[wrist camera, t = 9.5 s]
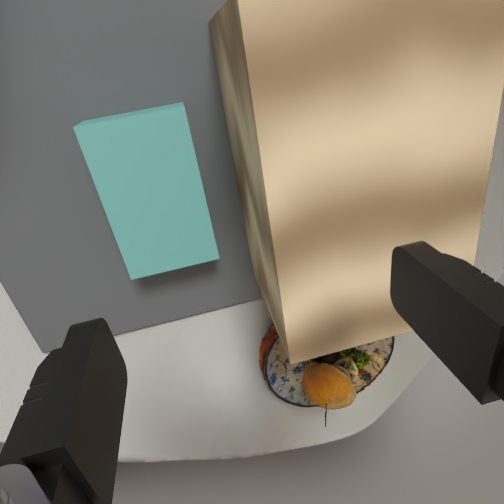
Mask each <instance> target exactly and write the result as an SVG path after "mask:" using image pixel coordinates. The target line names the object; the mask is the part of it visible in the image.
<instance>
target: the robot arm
mask: <svg viewBox="0 0 504 504" xmlns="http://www.w3.org/2000/svg"><path fill="white" fill-rule="evenodd" d="M390 297H391V301H392V304H393V306H394V308H395V310H396V311H397V313H398V314H399V315H400V316H401V317H402V318H403V319H404V321H405V322H406V323H407V324H408V325H409V326H410V327H411V328H412V329H413V330H414V331H415V333H416V334H417V335H418V336H419V337H420V338H421V339H422V340H423V341H424V342H425V343H426V345H427V346H428V347H429V348H430V349H431V350H432V351H433V352H434V353H435V354H436V355H437V357H438V358H439V359H440V360H441V361H442V362H443V363H444V364H445V365H446V366H447V367H448V368H449V370H450V371H451V372H452V373H453V374H454V375H455V376H456V377H457V378H458V379H459V380H460V382H461V383H462V384H463V385H464V386H465V387H466V388H467V389H468V390H469V391H470V393H471V394H472V395H473V396H474V397H475V398H476V399H477V400H478V401H479V402H480V404H482V405H483V404H486V403H490V402H493V401H496V400H500V399H502V400H503V401H504V286H503V285H501V284H500V283H498V282H494V279H492V278H491V277H489V276H488V275H486V274H485V273H481V271H480V270H479V269H477V268H476V267H474V266H473V265H471V264H470V263H468V262H467V261H465V260H463V259H460V258H457V257H454V256H451V255H449V254H446V253H443V254H442V253H441V252H439V251H438V250H437V249H435V248H434V247H432V246H431V245H429V244H428V243H426V242H425V241H418V242H414V243H410V244H405V245H401V246H397V247H395V248H394V249H393V251H392V260H391V280H390ZM126 389H127V370H126V365H125V362H124V359H123V357H122V355H121V352H120V350H119V348H118V346H117V344H116V341H115V339H114V337H113V335H112V332H111V330H110V328H109V326H108V324H107V322H106V320H105V319H104V318H97V319H93V320H89V321H85V322H81V323H77V324H73V325H71V326H70V327H69V329H68V332H67V335H66V338H65V340H64V343H63V346H62V348H58V349H54V350H52V351H51V352H50V354H49V355H48V356H47V357H46V358H45V359H44V361H43V362H42V363H41V364H40V365H39V366H38V367H37V370H36V372H35V374H34V377H33V379H32V381H31V384H30V389H28V391H27V393H26V395H25V398H24V400H23V405H21V407H20V409H19V412H18V414H17V416H16V419H15V421H14V423H13V426H12V428H11V430H10V433H9V435H8V437H7V440H6V442H5V444H4V447H3V449H2V451H1V454H0V504H112V498H113V490H114V483H115V475H116V467H117V459H118V452H119V444H120V436H121V428H122V421H123V413H124V405H125V397H126Z"/></svg>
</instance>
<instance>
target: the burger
mask: <svg viewBox="0 0 504 504" xmlns="http://www.w3.org/2000/svg"><path fill="white" fill-rule="evenodd" d="M393 348H394V336H392V337H389V338H385V339H382V340H378V341H374V342H371V343H367V344H364V345H360V346H356V347H353V348H349V349H345V350H342V351H338V352H335V353H331V354H327V355H324V356H320V357H316V358H313V359H309V360H306V361H302V362H298V363H295V364H290V362H289V360H288V357H287V355H286V352H285V350H284V347H283V345H282V342H281V340H280V338H279V335H278V333H277V330H276V328H275V325H274V326H273V327H271V328H270V333H269V334H268V335H267V338H266V339H265V338H263V339H262V344H261V346H260V360H259V361H260V367H261V370H262V372H263V375H264V380H266V381H267V384H268V386H269V388H270V390H271V391H272V392H273V393H274V394H275V395H276V396H277V397H278V398H280V399H282V400H283V401H285V402H287V403H290V404H293V405H296V406H300V407H315V406H318V407H319V406H320V407H323V408H326V412H327V409H339V408H343V407H346V406H349V405H350V404H351V403H352V402H353V401H354V399H355V398H356V394H357V393H359V392H360V391H362V390H364V388H365V387H366V386H369V385H370V384H371V382H373V381H374V380H375V379H376V377H377V376H378V375H379V374H380V373H381V372H382V371H383V369H384V367H385V366H386V365H387V363H388V362H389V360H390V357H391V355H392V352H393ZM326 412H325V418H326ZM325 427H326V419H325Z"/></svg>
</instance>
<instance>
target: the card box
mask: <svg viewBox="0 0 504 504" xmlns="http://www.w3.org/2000/svg"><path fill="white" fill-rule="evenodd" d="M73 129H74V131H75V134H76V137H77V139H78V142H79V144H80V147H81V150H82V152H83V155H84V158H85V160H86V163H87V165H88V168H89V171H90V173H91V176H92V179H93V181H94V184H95V186H96V189H97V192H98V194H99V197H100V200H101V202H102V205H103V207H104V210H105V213H106V215H107V218H108V220H109V223H110V226H111V228H112V231H113V234H114V236H115V239H116V241H117V244H118V247H119V249H120V252H121V255H122V257H123V260H124V262H125V265H126V268H127V270H128V273H129V276H130V278H131V280H133V279H137V278H141V277H145V276H150V275H154V274H158V273H162V272H166V271H171V270H175V269H179V268H183V267H187V266H192V265H196V264H200V263H204V262H208V261H213V260H217V259H220V258H219V254H218V250H217V245H216V241H215V237H214V232H213V228H212V224H211V219H210V215H209V211H208V206H207V202H206V198H205V193H204V189H203V185H202V180H201V176H200V172H199V167H198V163H197V159H196V154H195V150H194V146H193V141H192V137H191V133H190V128H189V124H188V120H187V115H186V111H185V107H184V104H183V102H180V103H175V104H169V105H164V106H159V107H153V108H148V109H143V110H138V111H132V112H127V113H122V114H117V115H111V116H106V117H101V118H95V119H90V120H85V121H82V122H80V123H79V124H77V125H76V126H74V127H73Z"/></svg>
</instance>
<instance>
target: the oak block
mask: <svg viewBox="0 0 504 504" xmlns="http://www.w3.org/2000/svg"><path fill="white" fill-rule="evenodd" d="M208 24H209V29H210V35H211V40H212V46H213V51H214V57H215V62H216V68H217V73H218V79H219V84H220V90H221V95H222V101H223V106H224V112H225V117H226V123H227V128H228V134H229V139H230V145H231V150H232V156H233V161H234V166H235V172H236V177H237V183H238V188H239V194H240V199H241V205H242V210H243V216H244V221H245V227H246V232H247V238H248V243H249V249H250V254H251V260H252V265H253V271H254V276H255V279H256V281H257V284H258V286H259V289H260V291H261V294H262V296H263V298H264V301H265V303H266V306H267V308H268V311H269V313H270V316H271V318H272V320H273V323H274V325H275V328H276V330H277V333H278V335H279V338H280V340H281V342H282V345H283V347H284V350H285V352H286V355H287V357H288V360H289V362H290V364H295V363H298V362H302V361H306V360H309V359H313V358H316V357H320V356H324V355H327V354H331V353H335V352H338V351H342V350H345V349H349V348H353V347H356V346H360V345H364V344H367V343H371V342H374V341H378V340H382V339H385V338H389V337H392V336H396V335H400V334H403V333H407V332H411V331H414V330H413V329H412V328H411V327H410V326H409V325H408V324H407V323H406V322H405V321H404V319H403V318H402V317H401V316H400V315H399V314H398V313H397V311H396V310H395V308H394V306H393V304H392V301H391V297H390V280H391V260H392V251H393V249H394V248H395V247H397V246H401V245H405V244H410V243H414V242H418V241H425V242H426V243H428V244H429V245H431V246H432V247H434V248H435V249H437V250H438V251H439V252H441V253H442V254H443V253H446V254H449V255H451V256H454V257H457V258H460V259H463V260H465V261H467V262H468V263H470V264H471V265H473V266H474V262H475V256H476V250H477V244H478V238H479V232H480V225H481V219H482V213H483V207H484V201H485V195H486V189H487V183H488V177H489V171H490V165H491V159H492V153H493V147H494V141H495V135H496V129H497V123H498V117H499V111H500V105H501V99H502V93H503V87H504V0H227V1H226V2H225V3H224V4H223V6H222V7H221V8H220V9H219V10H218V11H217V13H216V14H215V15H214V16H213V17H212V18H211V20H210V21H209V22H208Z"/></svg>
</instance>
